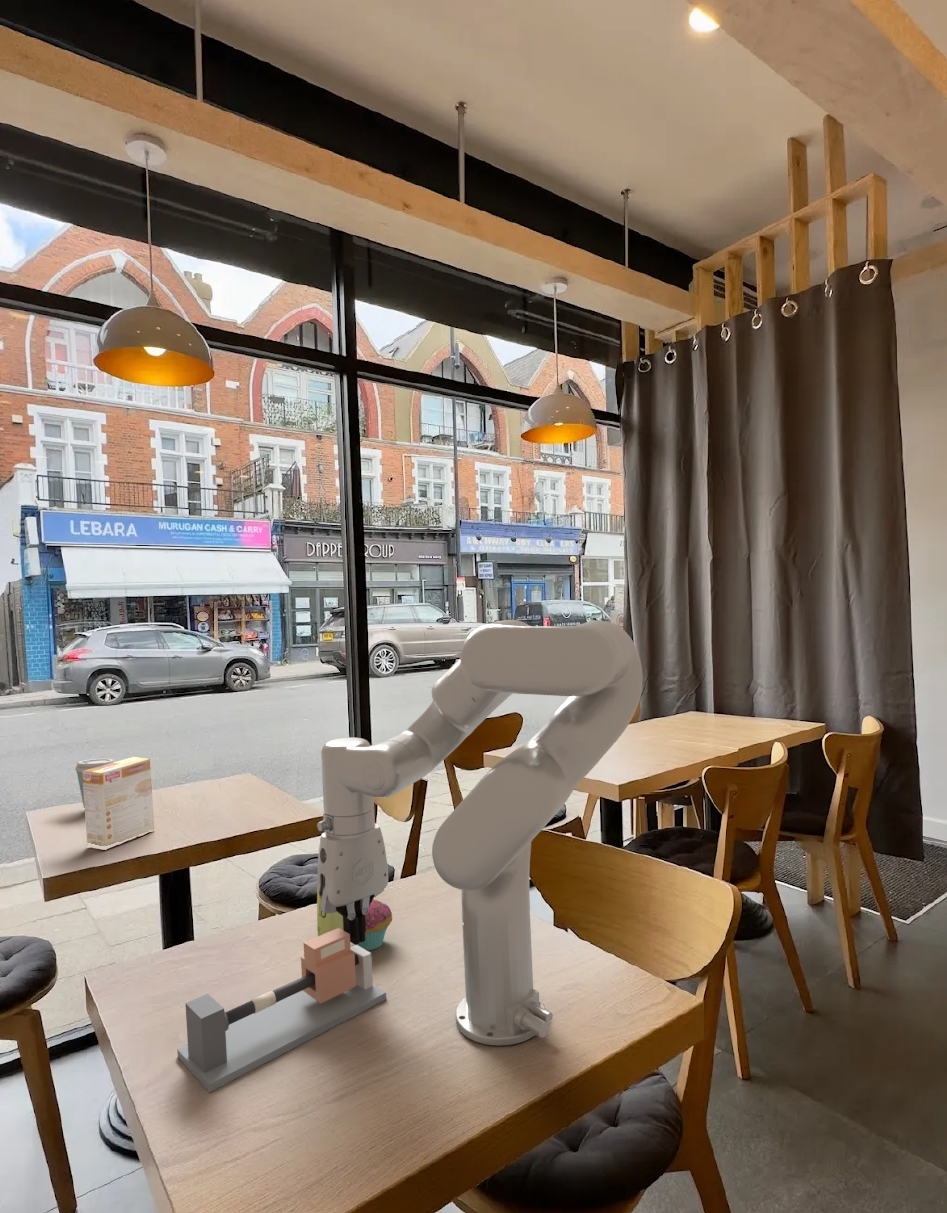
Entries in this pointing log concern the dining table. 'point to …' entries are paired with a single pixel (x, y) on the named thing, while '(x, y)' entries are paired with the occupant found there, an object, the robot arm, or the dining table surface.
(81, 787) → the disposable coffee cup
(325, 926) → the tube
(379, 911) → the cupcake
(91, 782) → the coffeecake box
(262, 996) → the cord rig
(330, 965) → the sleeve
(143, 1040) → the dining table surface
